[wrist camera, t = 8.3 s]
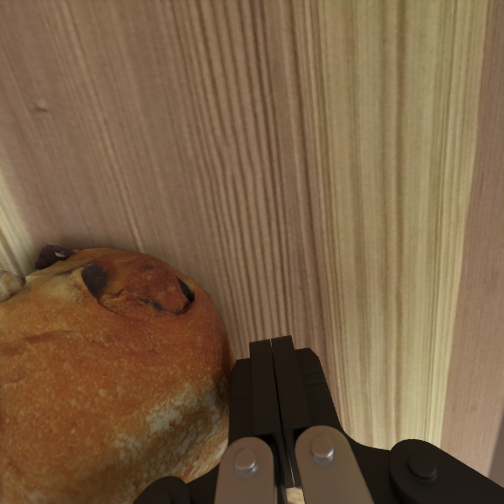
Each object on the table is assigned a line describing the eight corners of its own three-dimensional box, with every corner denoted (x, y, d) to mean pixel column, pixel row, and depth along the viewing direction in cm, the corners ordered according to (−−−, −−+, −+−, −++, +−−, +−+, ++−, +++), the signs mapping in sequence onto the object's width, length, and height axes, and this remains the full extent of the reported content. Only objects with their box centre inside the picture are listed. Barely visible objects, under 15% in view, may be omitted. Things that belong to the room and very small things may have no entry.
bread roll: (62, 356, 18) (-6, 551, 13) (-76, 222, 11) (-385, 565, 5) (240, 348, 19) (245, 534, 13) (231, 211, 11) (236, 525, 6)
